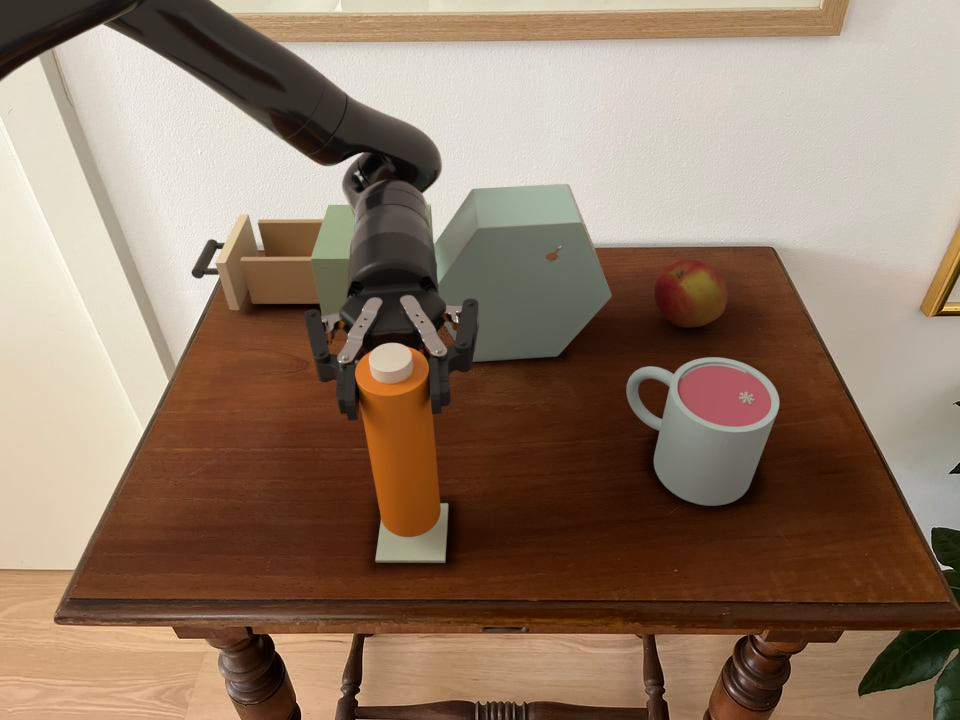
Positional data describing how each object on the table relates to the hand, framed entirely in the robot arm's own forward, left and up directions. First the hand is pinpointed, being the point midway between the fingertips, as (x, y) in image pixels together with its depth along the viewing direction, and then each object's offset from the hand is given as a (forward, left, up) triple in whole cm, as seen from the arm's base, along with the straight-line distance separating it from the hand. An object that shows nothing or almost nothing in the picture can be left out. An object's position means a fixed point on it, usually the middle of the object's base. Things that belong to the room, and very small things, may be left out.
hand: (394, 408), depth 50 cm
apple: (+39, +20, -19) cm, 48 cm away
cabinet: (+6, +39, -19) cm, 44 cm away
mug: (+28, +2, -19) cm, 34 cm away
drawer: (-7, +44, -18) cm, 47 cm away
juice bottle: (+1, +3, -16) cm, 16 cm away
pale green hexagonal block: (+19, +24, -19) cm, 36 cm away
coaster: (+1, +2, -19) cm, 19 cm away
